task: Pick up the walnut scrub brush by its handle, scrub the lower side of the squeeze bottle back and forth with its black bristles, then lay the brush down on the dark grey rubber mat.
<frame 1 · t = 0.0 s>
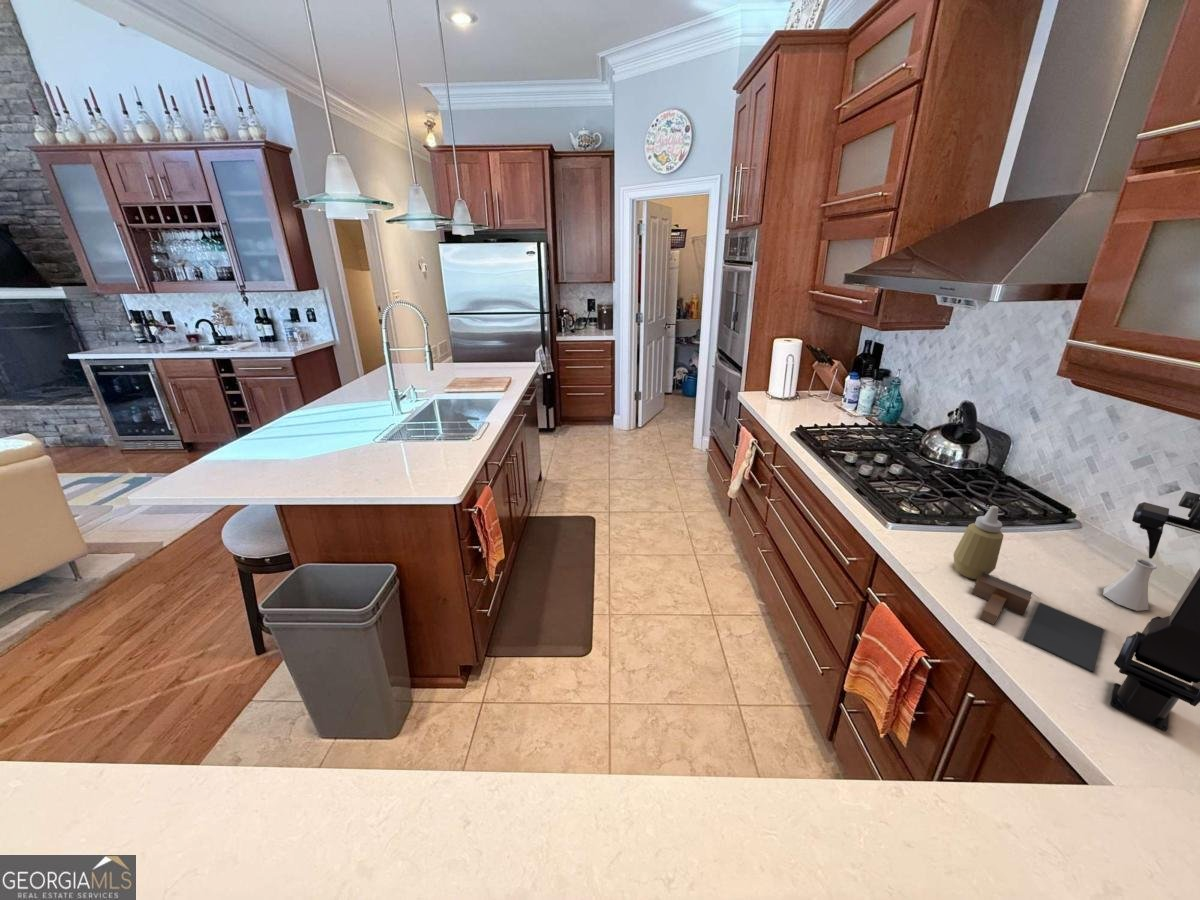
hand: (1185, 568, 90), 15 cm above the counter, tool pointing down, fingers open, 9 cm apart
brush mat: (1063, 634, 94), on the counter
brush: (998, 600, 103), on the counter
squeeze bottle: (969, 573, 112), on the counter
flask: (1124, 600, 103), on the counter
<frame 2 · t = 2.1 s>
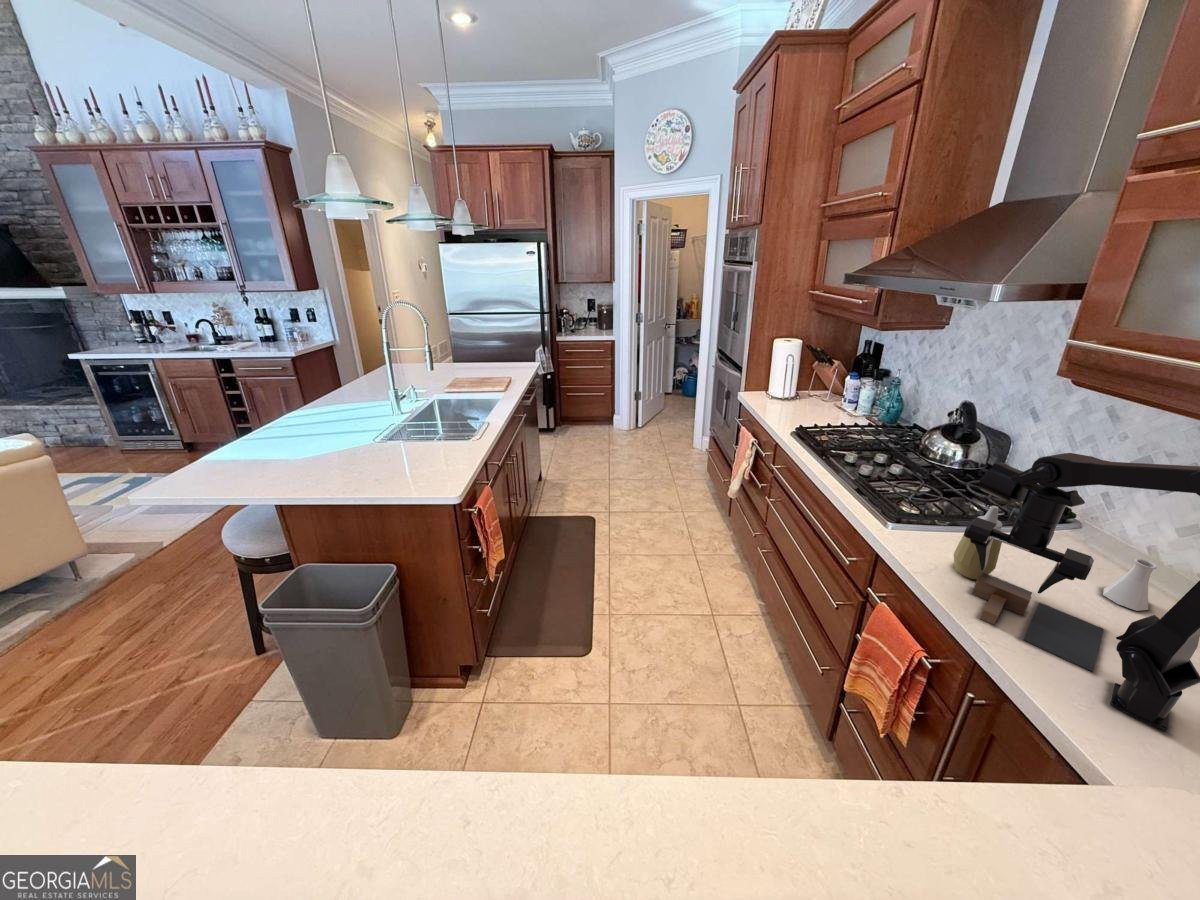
hand: (1009, 580, 96), 9 cm above the counter, tool pointing down, fingers open, 9 cm apart
nothing on the counter moved.
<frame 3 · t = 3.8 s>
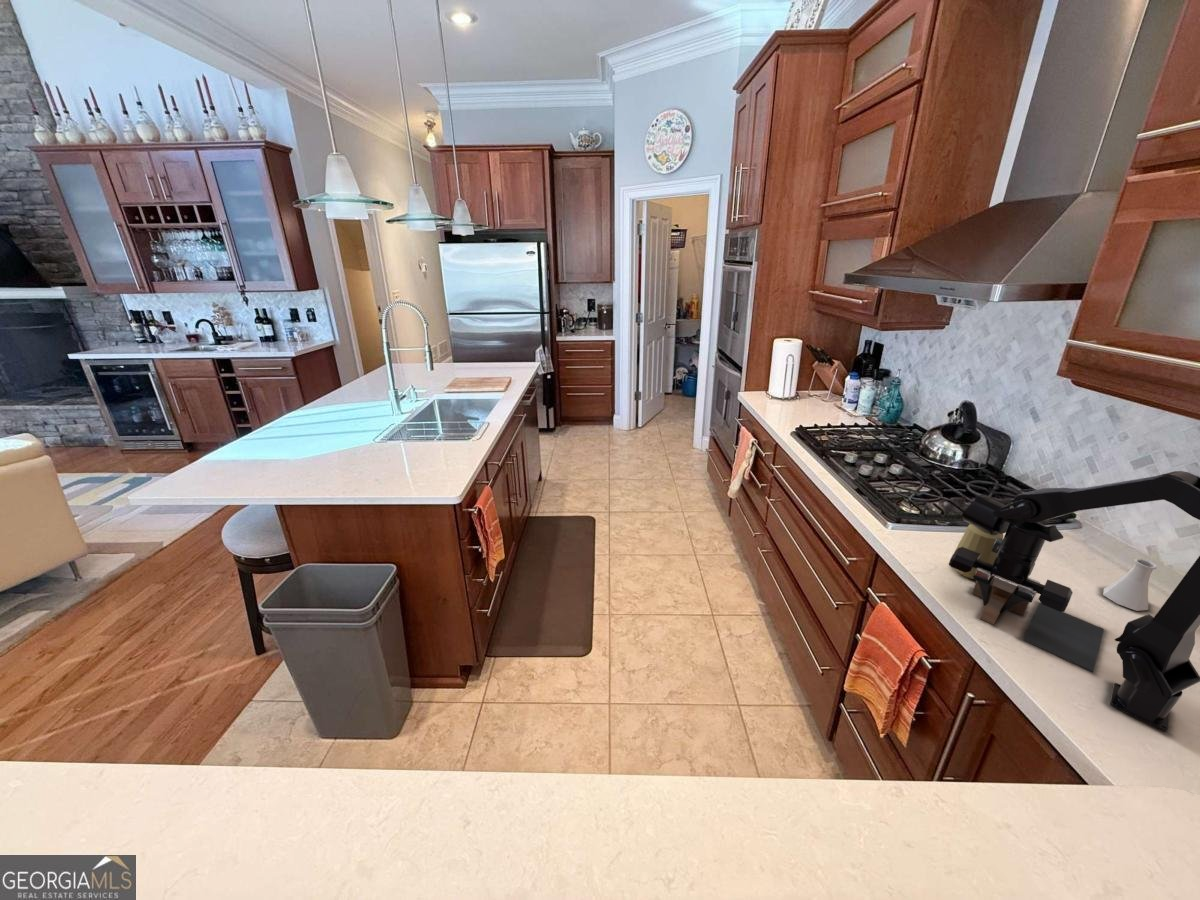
hand: (993, 609, 99), 1 cm above the counter, tool pointing down, fingers closed on brush, 2 cm apart
brush: (998, 600, 103), on the counter, touching gripper
everything else where it was.
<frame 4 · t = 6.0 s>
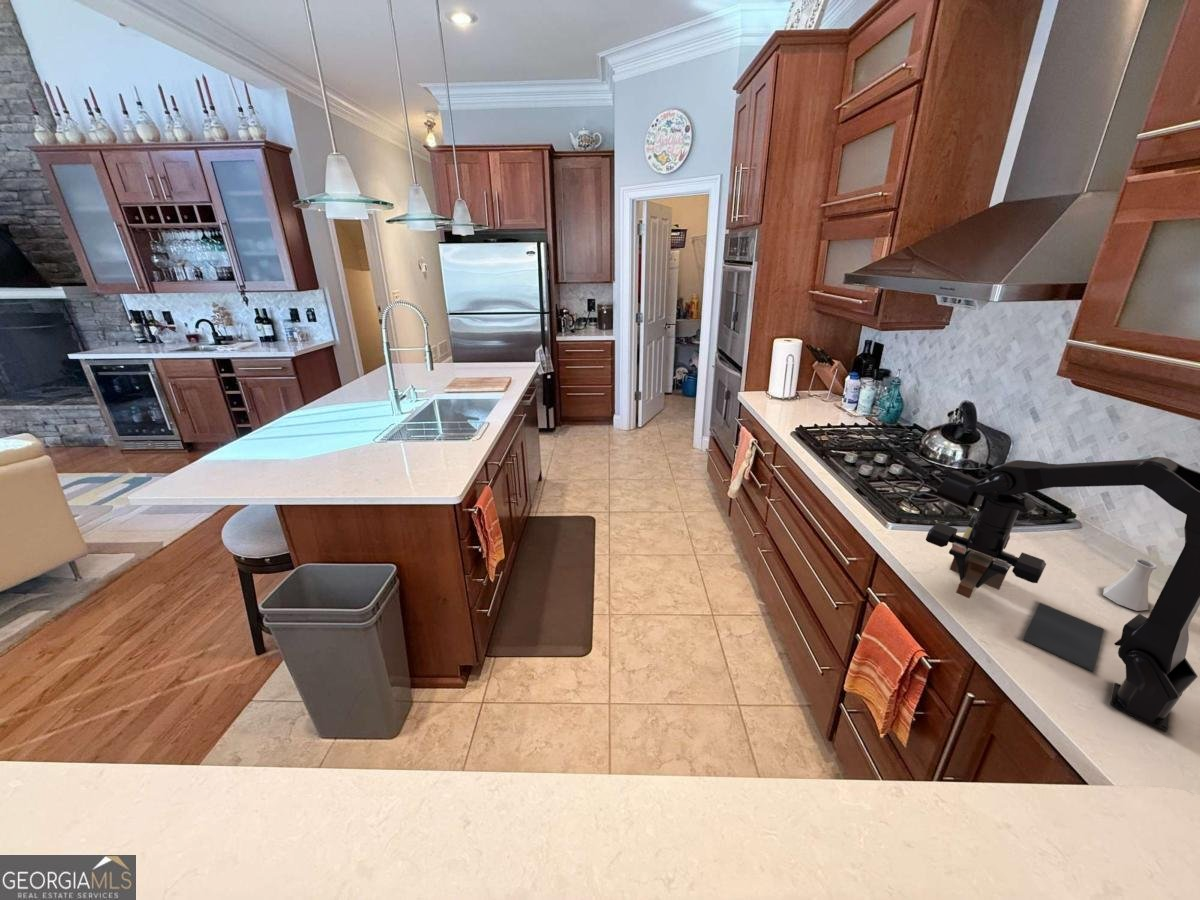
hand: (969, 583, 100), 6 cm above the counter, tool pointing down, fingers closed on brush, 2 cm apart
brush: (976, 575, 104), point 5 cm above the counter, touching gripper
everything else where it was.
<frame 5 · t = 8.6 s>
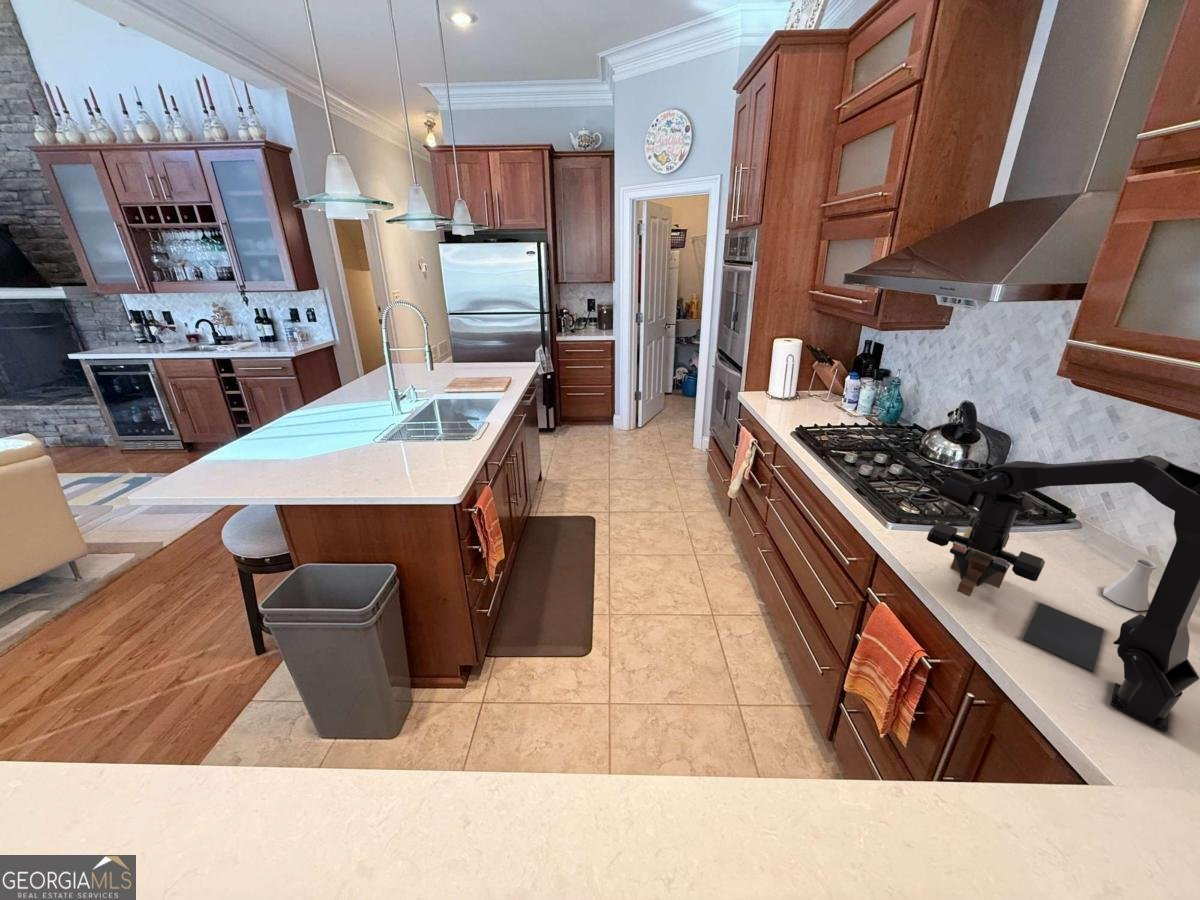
hand: (970, 582, 101), 5 cm above the counter, tool pointing down, fingers closed on brush, 2 cm apart
brush: (976, 574, 105), point 4 cm above the counter, touching gripper
everything else where it was.
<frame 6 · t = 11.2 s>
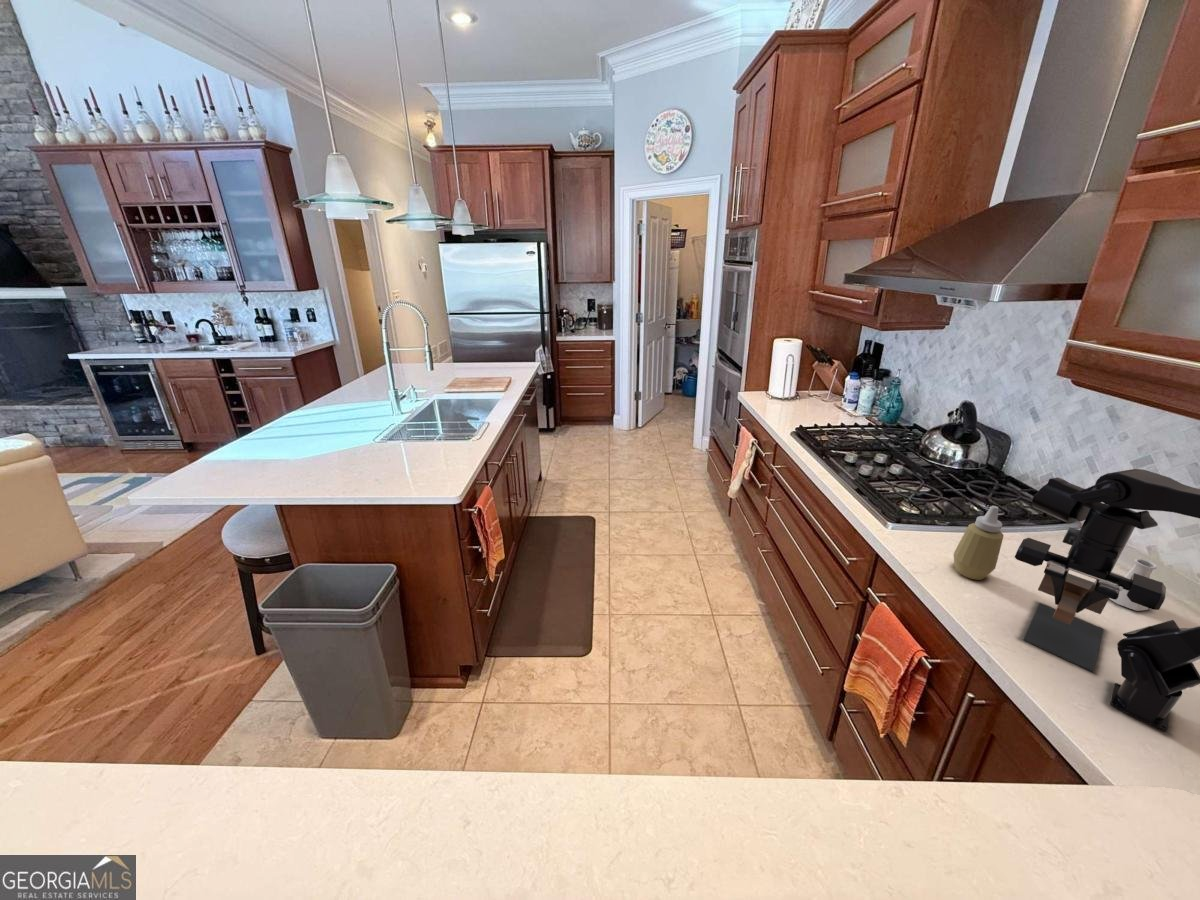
hand: (1066, 607, 88), 9 cm above the counter, tool pointing down, fingers closed on brush, 2 cm apart
brush: (1069, 597, 92), point 8 cm above the counter, touching gripper
everything else where it was.
when the fingers open (1 cm above the counter, at t = 13.3 s): brush stays where it is, resting on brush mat.
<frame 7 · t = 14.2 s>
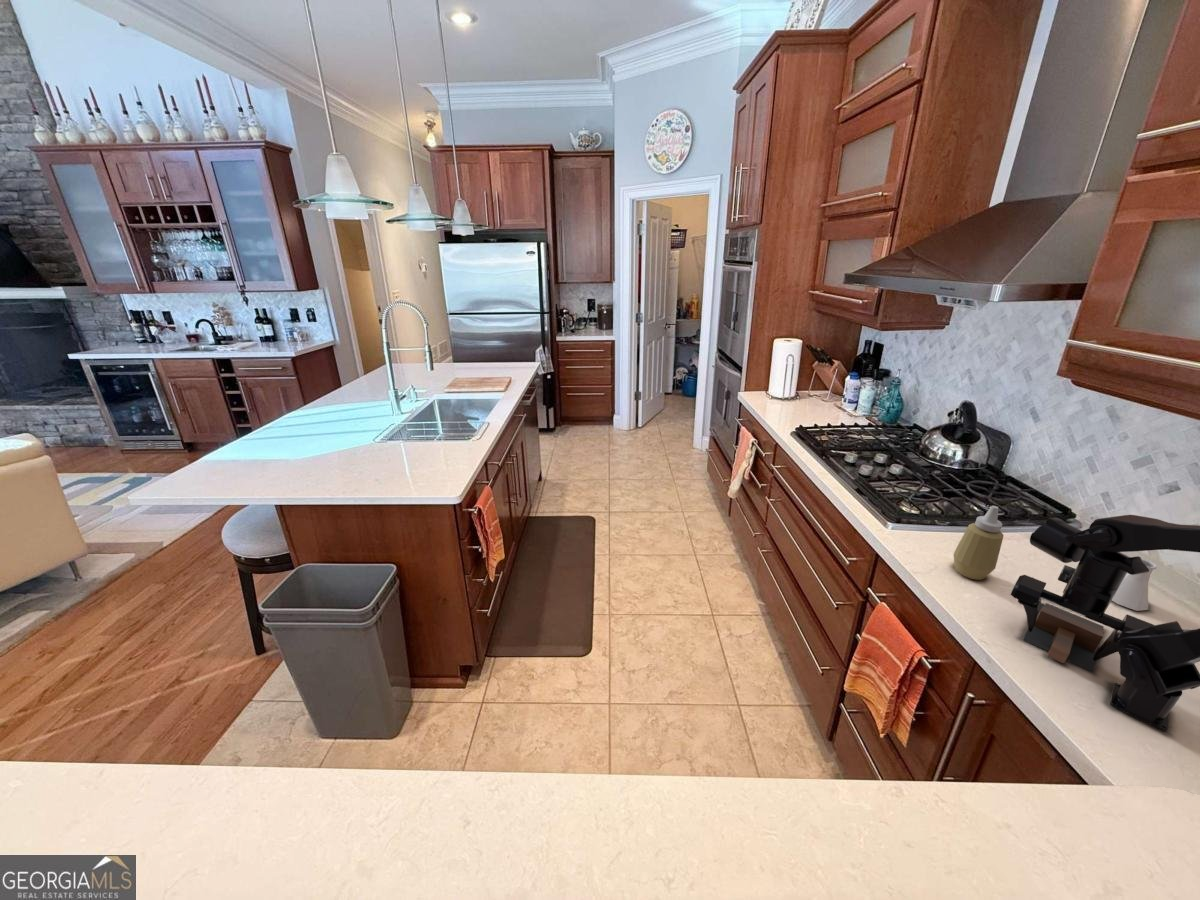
hand: (1061, 644, 90), 1 cm above the counter, tool pointing down, fingers open, 9 cm apart
brush: (1064, 633, 94), resting on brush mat
everything else where it was.
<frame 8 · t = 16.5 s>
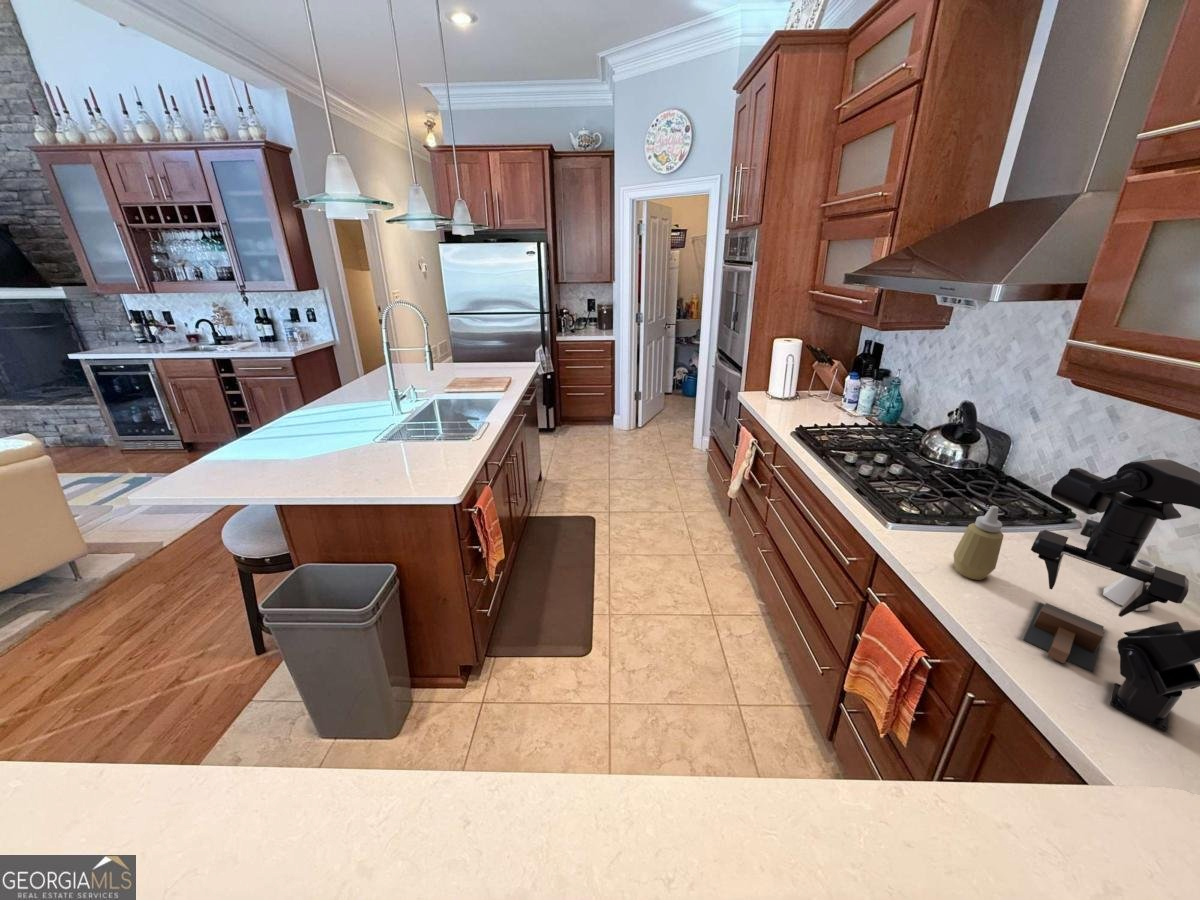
hand: (1084, 601, 86), 12 cm above the counter, tool pointing down, fingers open, 9 cm apart
nothing on the counter moved.
at the end: brush inside the target area on the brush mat (0.0 cm from its centre), point 0.3 cm above the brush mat's base; brush tilted 0°; squeeze bottle tilted 0° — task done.
